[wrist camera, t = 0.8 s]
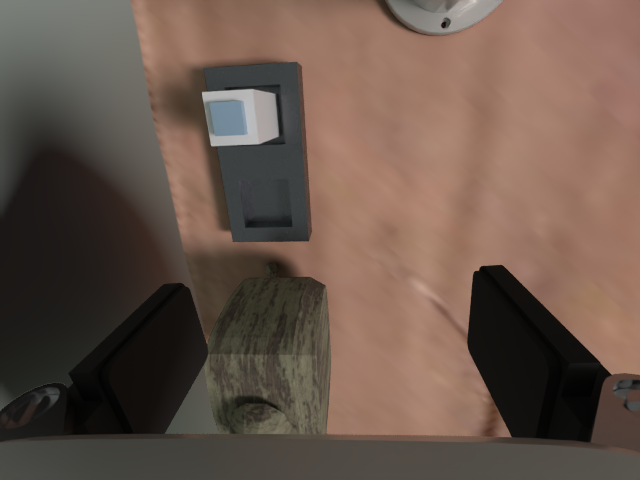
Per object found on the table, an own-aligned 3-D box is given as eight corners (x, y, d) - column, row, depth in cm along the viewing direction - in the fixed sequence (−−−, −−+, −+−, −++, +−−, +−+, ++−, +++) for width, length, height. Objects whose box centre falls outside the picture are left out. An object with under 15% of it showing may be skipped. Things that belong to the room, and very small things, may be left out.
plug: (239, 96, 32) (196, 91, 23) (277, 94, 32) (249, 88, 23) (245, 137, 34) (207, 147, 25) (281, 135, 33) (256, 145, 24)
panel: (216, 71, 32) (203, 68, 29) (301, 66, 31) (297, 61, 29) (241, 232, 39) (232, 241, 36) (311, 231, 38) (308, 241, 36)
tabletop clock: (257, 253, 40) (136, 445, 17) (327, 250, 39) (297, 452, 16) (272, 341, 46) (195, 576, 23) (333, 341, 45) (317, 587, 22)
